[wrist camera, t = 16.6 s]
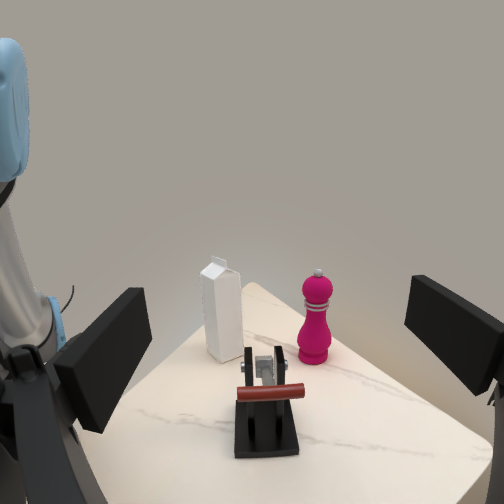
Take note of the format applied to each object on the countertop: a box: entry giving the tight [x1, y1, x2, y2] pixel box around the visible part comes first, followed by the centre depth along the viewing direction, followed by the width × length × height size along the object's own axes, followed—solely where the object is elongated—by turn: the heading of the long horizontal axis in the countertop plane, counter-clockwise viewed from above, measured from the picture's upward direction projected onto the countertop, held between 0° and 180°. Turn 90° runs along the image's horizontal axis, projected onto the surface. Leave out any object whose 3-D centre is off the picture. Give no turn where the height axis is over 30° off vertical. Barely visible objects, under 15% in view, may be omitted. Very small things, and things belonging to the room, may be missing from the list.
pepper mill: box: [297, 268, 333, 365], centre depth 56 cm, size 7×7×20 cm
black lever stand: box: [234, 346, 299, 458], centre depth 37 cm, size 12×9×15 cm
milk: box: [200, 255, 244, 363], centre depth 59 cm, size 6×6×22 cm
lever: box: [237, 356, 305, 402], centre depth 30 cm, size 14×6×2 cm, turn 2°
